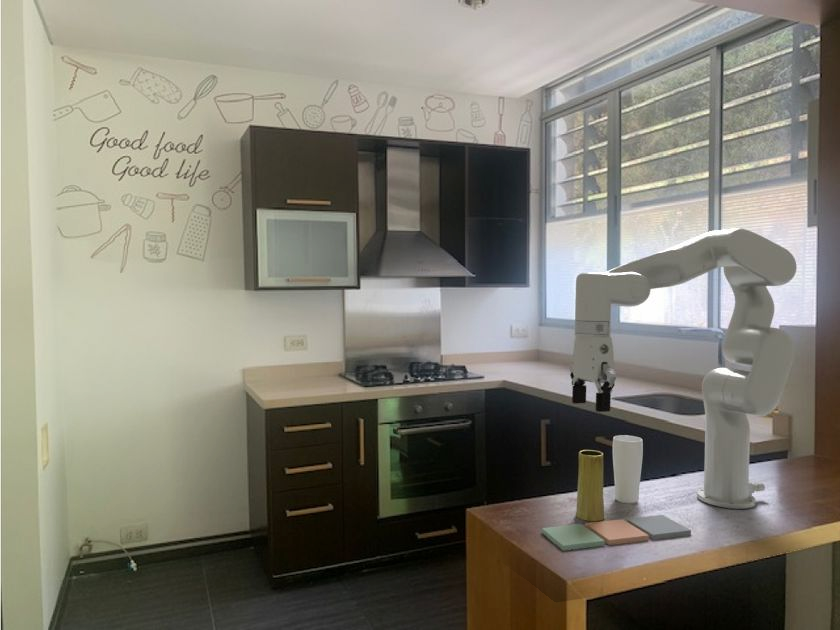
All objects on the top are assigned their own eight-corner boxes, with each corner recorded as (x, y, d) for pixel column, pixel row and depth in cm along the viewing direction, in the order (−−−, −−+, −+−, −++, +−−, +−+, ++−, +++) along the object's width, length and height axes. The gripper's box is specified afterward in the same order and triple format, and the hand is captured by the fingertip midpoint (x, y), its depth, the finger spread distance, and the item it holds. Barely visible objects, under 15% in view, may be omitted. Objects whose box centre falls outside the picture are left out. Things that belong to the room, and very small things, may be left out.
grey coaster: (662, 519, 135) (662, 514, 135) (690, 535, 127) (690, 530, 127) (626, 523, 133) (626, 518, 133) (652, 539, 124) (653, 534, 124)
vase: (585, 509, 141) (585, 447, 140) (609, 516, 137) (610, 453, 136) (570, 516, 137) (571, 452, 136) (595, 524, 132) (596, 458, 132)
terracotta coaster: (622, 523, 133) (622, 519, 133) (648, 540, 124) (648, 535, 124) (585, 528, 130) (585, 523, 130) (609, 545, 122) (609, 540, 121)
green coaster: (580, 528, 130) (580, 523, 130) (604, 545, 121) (604, 540, 121) (541, 532, 127) (541, 528, 127) (563, 550, 119) (563, 545, 119)
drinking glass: (643, 506, 143) (645, 442, 143) (613, 504, 145) (614, 441, 144) (639, 497, 150) (640, 435, 149) (610, 495, 151) (611, 434, 151)
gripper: (631, 331, 128) (628, 414, 128) (586, 326, 144) (585, 399, 145) (598, 331, 126) (596, 415, 126) (557, 326, 142) (556, 400, 143)
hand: (590, 407), depth 136 cm, fingers open, 9 cm apart
